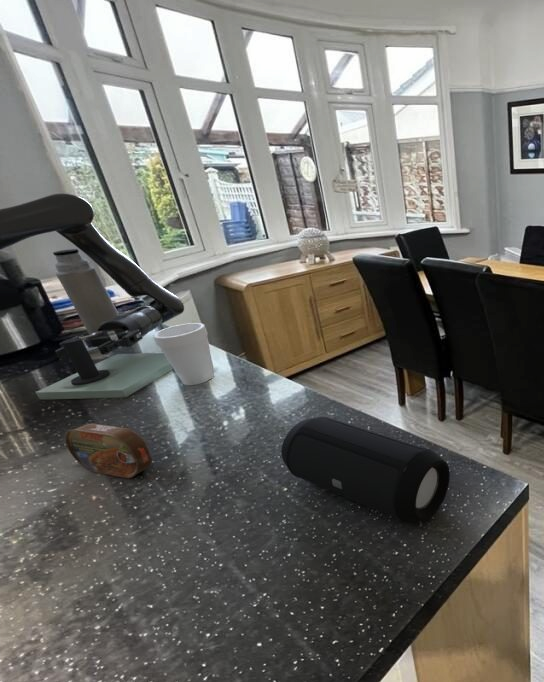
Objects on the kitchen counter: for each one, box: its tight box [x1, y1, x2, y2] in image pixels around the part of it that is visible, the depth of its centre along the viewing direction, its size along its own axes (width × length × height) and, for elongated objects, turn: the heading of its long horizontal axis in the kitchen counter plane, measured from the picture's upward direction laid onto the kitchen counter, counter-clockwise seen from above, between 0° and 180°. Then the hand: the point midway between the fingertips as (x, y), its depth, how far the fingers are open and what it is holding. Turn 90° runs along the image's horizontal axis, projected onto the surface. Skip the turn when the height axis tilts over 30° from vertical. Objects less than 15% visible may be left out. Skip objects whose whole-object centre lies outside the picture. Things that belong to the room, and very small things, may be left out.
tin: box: [65, 422, 153, 479], centre depth 65 cm, size 15×3×8 cm, turn 76°
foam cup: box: [152, 322, 215, 386], centre depth 94 cm, size 10×9×13 cm
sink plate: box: [35, 352, 174, 401], centre depth 98 cm, size 20×20×2 cm
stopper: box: [60, 337, 110, 385], centre depth 92 cm, size 7×7×12 cm
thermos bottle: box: [52, 248, 120, 335], centre depth 115 cm, size 8×8×28 cm
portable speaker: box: [280, 416, 451, 523], centre depth 59 cm, size 26×10×10 cm, turn 65°
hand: (80, 353), depth 92 cm, fingers open, 8 cm apart
